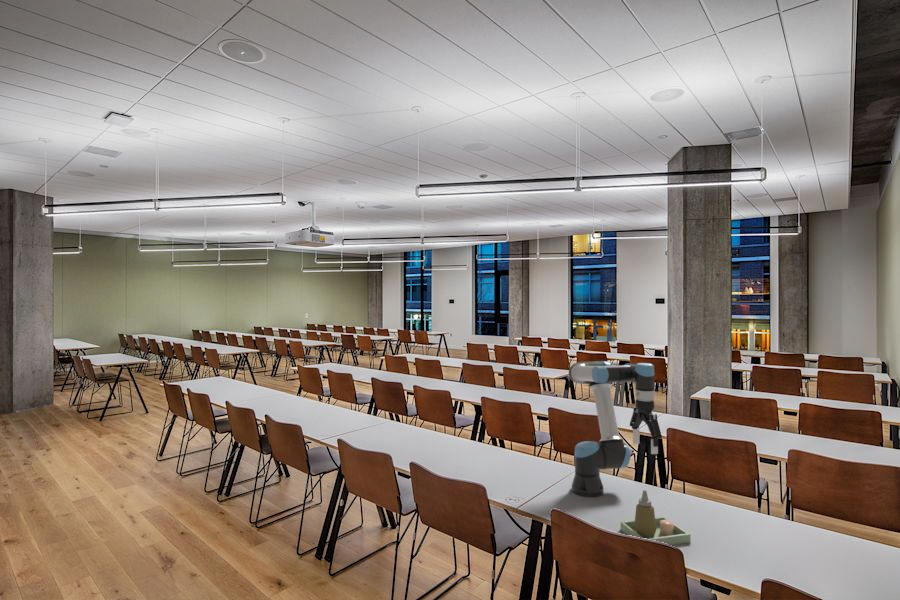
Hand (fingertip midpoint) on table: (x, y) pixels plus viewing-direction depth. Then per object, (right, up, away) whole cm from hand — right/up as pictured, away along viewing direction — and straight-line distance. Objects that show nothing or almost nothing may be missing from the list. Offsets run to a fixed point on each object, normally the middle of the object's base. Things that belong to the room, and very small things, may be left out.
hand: (645, 448), depth 212 cm
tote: (-3, -30, -17) cm, 35 cm away
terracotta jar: (+2, -29, -16) cm, 33 cm away
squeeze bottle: (-7, -29, -18) cm, 35 cm away
